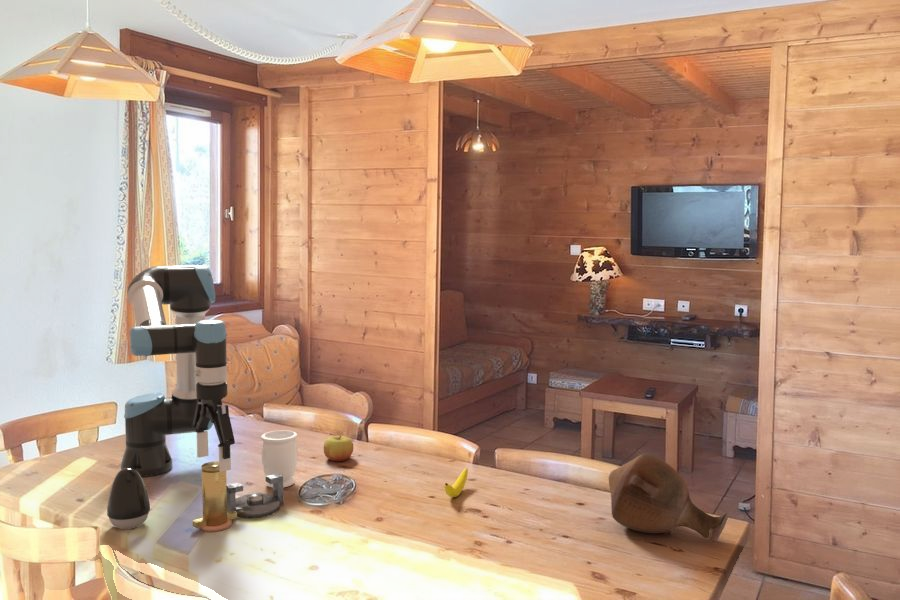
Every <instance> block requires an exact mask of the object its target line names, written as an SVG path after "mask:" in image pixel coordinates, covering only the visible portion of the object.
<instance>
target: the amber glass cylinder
mask: <svg viewBox="0 0 900 600" xmlns="http://www.w3.org/2000/svg"><path fill="white" fill-rule="evenodd" d="M227 482H228V481H227V471H223V472H220V471H219V461H210V462H206V463H203V464H201V491H202V492H201V495H202V496H201V497H202V517H201V518H197V519H193V520H192V527H194V528H195V529H200V527H204V526H220V525H223V524H225V523H227V520H234V519H238V517H237V512H236V511H234V510H232V511H228V512H227V485H228V483H227Z"/></svg>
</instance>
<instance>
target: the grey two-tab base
mask: <svg viewBox="0 0 900 600" xmlns="http://www.w3.org/2000/svg"><path fill="white" fill-rule="evenodd" d="M266 482H268V483H269V484H273V488H272V493H273V494H269V493H264V492H261V491H255V492H250V493H247V494H245V495H242V496H238V497H237V496H236V493H240V492H243V491H244V485H243V484H242V483H240V482H234V483H230V484H227V512H228V511H232V510H234V511H236V512H237V518H241V519H260V518H265V517H268V515H269V516H271V515H273V513H274V514H275V513H277V512H278V511H279V510H280V508H281V507H280V506H281V505H284V488H283V476H282V475H280V474H278V473H277V474H273V475H268V476H265V483H266Z"/></svg>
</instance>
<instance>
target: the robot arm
mask: <svg viewBox="0 0 900 600" xmlns="http://www.w3.org/2000/svg"><path fill="white" fill-rule="evenodd" d="M212 274H213V273H212V272H211V269H210V268H209V267H208V266H207V265H199V264H198V265H197V264H184V265H183V264H181V265H180V264H179V265H155V266H151V267H148V268H145V269H144V270H142V271H140V272H138V273H137V274H136V275H135V276H134V278H132V280H131V281H130V283H129V285H128V287H127V291H126V292H127V299H128V303H129V304H130V305H131V306H132V308H133V315H134V322H135V326H133V327H131V328H130V329H129V346H130V348H129V349H130V353H131V355H132V356H134V357H138V356H139V357H141V356H143V357H144V356H145V357H149V356H160V355H161V356H162V355H175V354H176V360H175V361H176V362H175V363H176V387H175V388H173V390H172V391H171V396H170V397H166V396H165V395H164V394H165V393H162V392H156V393H155V392H151V393H144V394H140V395H138V396H135V397H132V398H130V399H129V400H127V401H126V403H125V405H124V415H123V418H124V419H125V420H124V425H125V427H124V428H125V429H124V431H125V449H124V452H123V455H122V459H121V462H120V470H122V469H124V468H133V469H135V470H136V471H137V472H138V473H139V474H140V476H141V477H142V478H143V477H153V476H156V475H157V476H158V475H162V474H164V473H167V472H169V471H170V470H172V468H173V458H172V455H171V453H170V450H169V448H168V446H167V441H166V436H168V435H169V436H170V435H179V434H181V435H182V434H189V433H196V454H197V455H196V456H197V458H198V459H199V458H204V457H208V456H209V430H211V428H212V427H213V426H214V429H215V432H216V436H217V438H218V441H219V444H218V445H217V447H218V462H219V471H220V472H223V471H226V472H227V471H232V467H231V466H232V462H231V461H232V460H231V453H232V452H231V445H235V443H236V440H235V435H234V432H233V431H234V430H233V427H232V423H231V418H230V417H231V416H230V413H229V405H228V404H224V405H223V401H222V400H223V399H225V398H226V397H227V396H228V383H227V380H228V364H227V336H228V333H227V329H226V328H227V327H226V326H227V325H226V322H224V321H223V320H220V319H219V320H218V319H206V314H207V313H208V312H209V311H210V310H211V304H214V303H215V302H216V291H215V290H216V289H215V284H214V279H213V275H212ZM163 305H169V307H170V308H169V309H170V311H172V313H173V314H175V324H167V321H166V316H165V312H164V309H163Z"/></svg>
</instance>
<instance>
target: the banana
mask: <svg viewBox="0 0 900 600" xmlns="http://www.w3.org/2000/svg"><path fill="white" fill-rule="evenodd" d="M468 470H469V469H468V467H466V468H464V469H463V470H462V472H460V474H459V476H458V477H457V479H456V480H455V481H454V483H453V484H452V485H450V484H448V483H447V482H445V486H444V491H445V494H446V495H447V496H448V497H450V498H456V497H458V496H459V495H460V494H461V493H462V491H463V489H465V488H464V487H465V485H466V482H467V480H468Z"/></svg>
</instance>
